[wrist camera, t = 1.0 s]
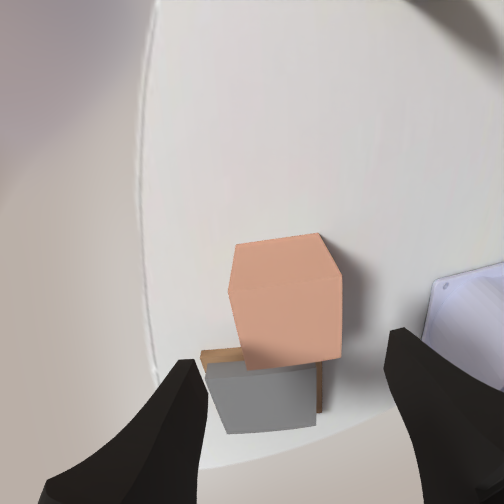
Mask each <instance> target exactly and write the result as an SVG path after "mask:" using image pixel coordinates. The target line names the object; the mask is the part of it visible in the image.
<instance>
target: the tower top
mask: <svg viewBox="0 0 504 504" xmlns="http://www.w3.org/2000/svg"><path fill="white" fill-rule="evenodd" d="M205 381H206V383H207V386H208V389H209V391H210V394H211V396H212V399H213V401H214V404H215V406H216V409H217V411H218V414H219V416H220V418H221V421H222V423H223V425H224V428H225V430H226V432H227V434H243V433H259V432H270V431H280V430H289V429H297V428H304V427H311V426H316V397H317V368H316V363H315V362H313V363H307V364H300V365H293V366H285V367H277V368H269V369H260V370H249V371H247V368H246V364H245V361H234V362H220V363H208V364H207V369H206V375H205Z"/></svg>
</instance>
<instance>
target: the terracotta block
mask: <svg viewBox="0 0 504 504" xmlns="http://www.w3.org/2000/svg"><path fill="white" fill-rule="evenodd" d="M228 295H229V299H230V303H231V307H232V312H233V316H234V320H235V324H236V328H237V332H238V336H239V340H240V345H241V349H242V352H243V356H244V360H245V364H246V368H247V371H249V370H260V369H269V368H277V367H285V366H293V365H300V364H307V363H313V362H319V361H325V360H331V359H336V358H341V345H342V274H341V273H340V271H339V269H338V267H337V265H336V263H335V262H334V260H333V258H332V256H331V254H330V253H329V251H328V249H327V247H326V246H325V244H324V242H323V240H322V239H321V237H320V235H319V233H313V234H306V235H299V236H292V237H285V238H278V239H271V240H264V241H257V242H250V243H243V244H236V247H235V252H234V258H233V264H232V270H231V276H230V282H229V288H228Z"/></svg>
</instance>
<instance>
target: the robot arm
mask: <svg viewBox="0 0 504 504" xmlns="http://www.w3.org/2000/svg"><path fill="white" fill-rule="evenodd" d="M445 283H446V284H445ZM444 284H445V285H444ZM443 285H444V286H443ZM384 372H385V375H386V379H387V382H388V385H389V388H390V391H391V394H392V396H393V398H394V401H395V403H396V405H397V407H398V410H399V412H400V414H401V416H402V419H403V421H404V423H405V426H406V428H407V430H408V433H409V435H410V438H411V441H412V444H413V448H414V451H415V455H416V459H417V464H418V468H419V473H420V478H421V483H422V491H423V498H424V504H504V262H502V263H498V264H495V265H491V266H488V267H484V268H480V269H476V270H472V271H468V272H464V273H460V274H456V275H452V276H448V277H444V278H439V279H437V280H436V281H434V283H433V285H432V290H431V296H430V302H429V307H428V312H427V317H426V322H425V327H424V331H423V336H422V340H420V339H419V338H418V337H416V336H415V335H414V334H413V333H411V332H410V331H409V330H407V329H406V328H405V327H404V328H400V329H396V330H391V331H390V334H389V340H388V347H387V352H386V358H385V363H384ZM207 412H208V392H207V389H206V387H205V385H204V382H203V380H202V377H201V375H200V372H199V370H198V368H197V365H196V363H195V360H194V359H184V360H178V361H177V363H176V364H175V365H174V367H173V368H172V369H171V371H170V372H169V373H168V375H167V376H166V378H165V379H164V380H163V382H162V383H161V384H160V386H159V387H158V388H157V390H156V391H155V392H154V394H153V395H152V396H151V398H150V399H149V400H148V401H147V403H146V404H145V405H144V406H143V407H142V409H141V410H140V411H139V412H138V413H137V415H136V416H135V417H134V418H133V419H132V420H131V421H130V423H128V424H127V426H125V427H124V428H123V429H122V430H121V431H120V432H119V433H118V434H117V435H116V436H115V437H114V438H113V439H112V440H111V441H109V442H108V443H107V444H106V445H104V446H103V447H102V448H101V449H99V450H98V451H97V452H95V453H94V454H93V455H91V456H90V457H88V458H87V459H85V460H84V461H83V462H81V463H79V464H77V465H76V466H74V467H72V468H71V469H69V470H67V471H65V472H63V473H61V474H59V475H57V476H55V477H52V478H50V479H48V480H47V481H46V483H45V486H44V488H43V491H42V493H41V496H40V499H39V502H38V504H197V476H198V467H199V460H200V455H201V449H202V444H203V438H204V433H205V427H206V421H207Z"/></svg>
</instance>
